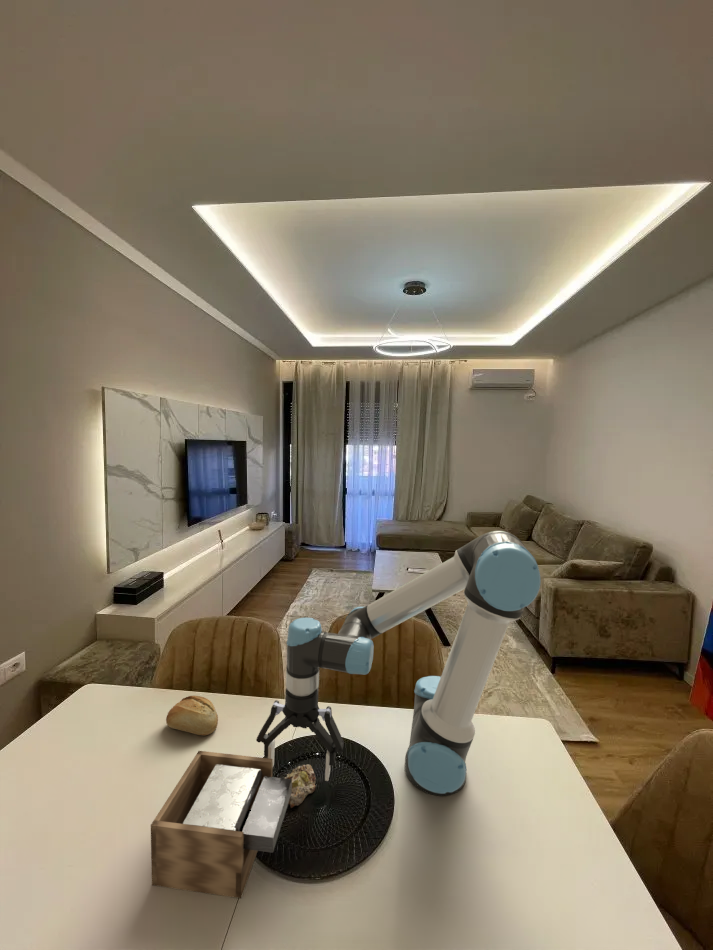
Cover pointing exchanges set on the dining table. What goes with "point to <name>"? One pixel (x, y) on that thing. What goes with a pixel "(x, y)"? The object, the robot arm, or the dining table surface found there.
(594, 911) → the dining table surface
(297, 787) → the mineral rock
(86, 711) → the dining table surface
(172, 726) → the bread roll
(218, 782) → the trapdoor
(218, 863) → the wooden box
